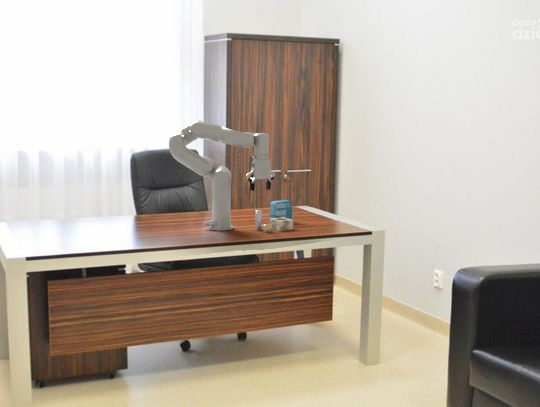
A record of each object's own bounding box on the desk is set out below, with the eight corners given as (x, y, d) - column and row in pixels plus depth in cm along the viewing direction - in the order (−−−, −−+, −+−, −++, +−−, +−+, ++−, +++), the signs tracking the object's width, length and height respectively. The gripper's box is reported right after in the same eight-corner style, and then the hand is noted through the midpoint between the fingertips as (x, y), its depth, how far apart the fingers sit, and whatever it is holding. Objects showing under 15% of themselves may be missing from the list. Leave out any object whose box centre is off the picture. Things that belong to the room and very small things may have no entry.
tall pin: (257, 230, 374) (257, 211, 372) (254, 229, 376) (254, 210, 375) (262, 229, 375) (262, 210, 374) (259, 228, 378) (259, 209, 377)
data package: (274, 224, 391) (274, 202, 389) (269, 223, 394) (270, 201, 393) (292, 222, 398) (292, 200, 396) (287, 220, 401) (287, 199, 400)
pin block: (278, 230, 372) (278, 221, 372) (269, 228, 380) (269, 218, 379) (293, 229, 377) (293, 219, 376) (283, 226, 385) (283, 217, 384)
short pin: (265, 232, 367) (265, 225, 366) (262, 231, 370) (262, 224, 369) (270, 232, 369) (270, 224, 368) (267, 231, 371) (267, 223, 371)
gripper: (250, 158, 364) (249, 191, 366) (279, 157, 373) (278, 190, 375) (243, 156, 370) (242, 189, 373) (271, 156, 379) (270, 188, 382)
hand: (260, 190), depth 374 cm, fingers open, 9 cm apart
